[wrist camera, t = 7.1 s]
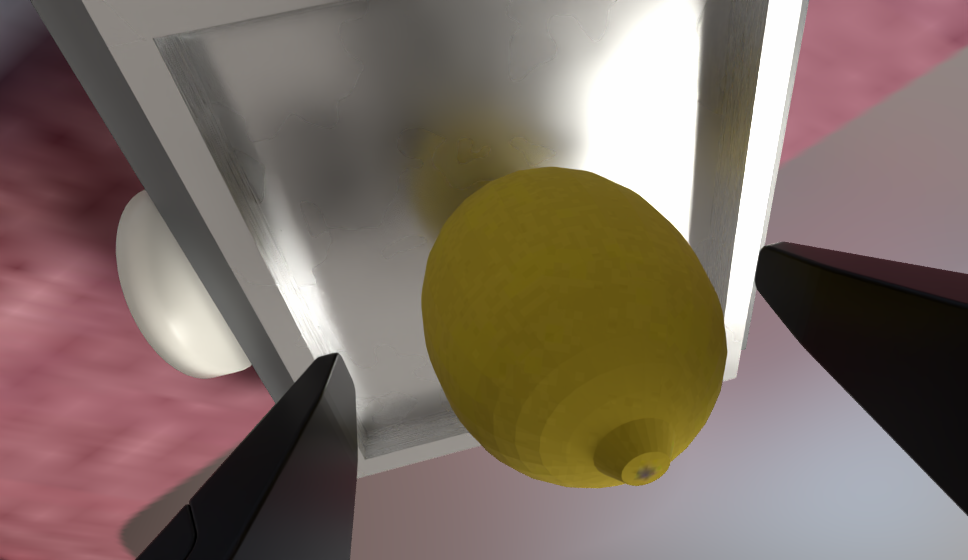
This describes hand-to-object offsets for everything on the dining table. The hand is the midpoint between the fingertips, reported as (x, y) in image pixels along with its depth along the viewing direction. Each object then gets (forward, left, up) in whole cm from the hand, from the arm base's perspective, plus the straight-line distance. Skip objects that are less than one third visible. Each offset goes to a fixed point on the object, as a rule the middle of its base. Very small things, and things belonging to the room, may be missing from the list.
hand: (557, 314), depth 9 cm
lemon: (0, 0, -4) cm, 4 cm away
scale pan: (0, 0, -5) cm, 5 cm away
